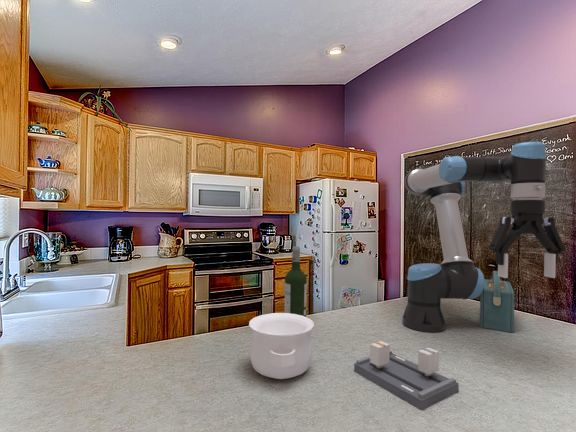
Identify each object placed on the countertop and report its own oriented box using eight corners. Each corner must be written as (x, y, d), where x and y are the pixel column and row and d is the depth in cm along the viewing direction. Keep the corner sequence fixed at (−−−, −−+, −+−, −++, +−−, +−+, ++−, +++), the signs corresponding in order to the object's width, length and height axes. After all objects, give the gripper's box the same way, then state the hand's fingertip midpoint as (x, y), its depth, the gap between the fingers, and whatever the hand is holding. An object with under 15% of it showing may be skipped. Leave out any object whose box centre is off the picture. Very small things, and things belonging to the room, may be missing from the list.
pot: (323, 388, 75) (324, 336, 75) (249, 394, 72) (250, 340, 72) (304, 350, 97) (304, 310, 97) (246, 353, 94) (247, 312, 94)
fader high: (417, 374, 77) (418, 349, 77) (427, 370, 80) (428, 346, 80) (428, 379, 75) (429, 354, 75) (438, 375, 77) (438, 350, 77)
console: (354, 371, 84) (354, 360, 84) (389, 359, 91) (389, 349, 91) (421, 410, 67) (421, 396, 67) (458, 391, 74) (458, 379, 74)
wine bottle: (310, 330, 114) (311, 247, 114) (292, 335, 109) (293, 248, 109) (297, 324, 120) (298, 245, 120) (279, 328, 116) (281, 246, 116)
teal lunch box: (515, 334, 113) (515, 278, 114) (479, 328, 119) (480, 275, 119) (510, 316, 135) (510, 269, 135) (480, 312, 141) (481, 267, 141)
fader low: (369, 366, 81) (370, 343, 81) (380, 363, 83) (380, 340, 83) (378, 371, 79) (378, 346, 79) (389, 367, 81) (389, 343, 81)
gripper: (494, 198, 82) (492, 279, 82) (583, 199, 84) (582, 279, 84) (474, 199, 90) (473, 274, 90) (557, 201, 92) (556, 274, 92)
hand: (526, 277), depth 87 cm, fingers open, 13 cm apart
